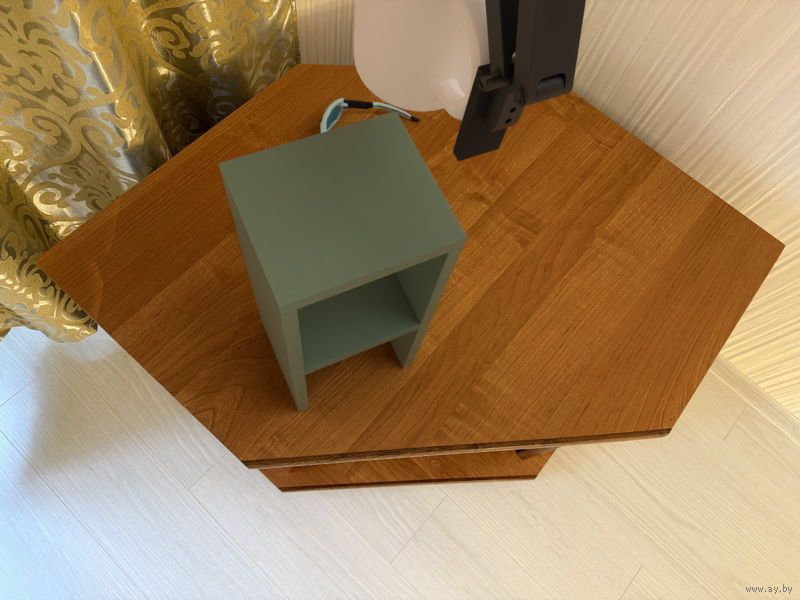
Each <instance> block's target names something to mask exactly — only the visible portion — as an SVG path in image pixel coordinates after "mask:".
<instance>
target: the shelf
mask: <svg viewBox="0 0 800 600" xmlns="http://www.w3.org/2000/svg"><path fill="white" fill-rule="evenodd" d="M218 168H219V172H220V176H221V179H222V183H223V187H224V190H225V194H226V198H227V201H228V204H229V208H230V212H231V215H232V220H233V223H234V226H235V230H236V234H237V238H238V241H239V245H240V249H241V252H242V255H243V259H244V263H245V265H246V267H245V268H246V270H247V273H248V277H249V281H250V284H251V285H250V286H251V289H252V292H253V296H254V299H255V303H256V306H257V310H258V315H259V318H260V321H261V323H262V326H263V328H264V331H265V333H266V336H267V338H268V340H269V343H270V345H271V348H272V351H273V353H274V355H275V358H276V360H277V362H278V365H279V367H280V370H281V372H282V375H283V378H284V380H285V383H286V385H287V387H288V390H289V393H290V394H291V397H292V399H293V402H294V405H295V407H296V409H297V411H298V413H302V412H304V411H307V410H309V409H310V405H309V399H308V397H309V396H308V388H307V380H306V376H307V375H309V374H313V373H314V372H317V371H319V370H322V369H324V368H326V367H329V366H332V365H334V364H336V363H338V362H341V361H344V360H346V359H349V358H350V357H351V358H352V357H353V356H356V355H359V354H361V353H363V352H366V351H368V350H370V349H373V348H376V347H378V346H380V345H383V344H386V343H387V342H389V343H390V344H391V345H390V346H391V347H392V348H393V349H392V350H393V351H394V353H395V355H396V357H397V359H398V362H399V363H400V365H401V367H402V369H406V368H408V367H410V366H412V365H413V363H414V361H415V360H416V356H417V354H418V352H419V350H420V347H421V345H422V342H423V340H424V338H425V336H426V333H427V331H428V329H429V327H430V324H431V322H432V320H433V318H434V315H435V312H436V310H437V308H438V306H439V304H440V301H441V299H442V297H443V294H444V292H445V290H446V287H447V285H448V283H449V281H450V278H451V276H452V273H453V271H454V269H455V266H456V265H457V262H458V260H459V257H460V255H461V253H462V251H463V248H464V246H465V243H466V241H467V239H468V236H467V233H465V231H464V229H463V227H462V225H461V223H460V222H459V220H458V218H457V217H456V215H455V212H453V209H452V207H451V206H450V204H449V202H448V201H447V199H446V197H445V195H444V193H443V192H442V190H441V188H440V187H439V185H438V183H437V181H436V180H435V178H434V176H433V174H432V172H431V170H430V169H429V167H428V165H427V164H426V162H425V160H424V158H423V156H422V155H421V153H420V151H419V149H418V148H417V146H416V144H415V143H414V141H413V138H412V137H411V135H410V133H409V132H408V130H407V128H406V126H405V125H404V123H403V121H402V119H401V118H400V116H399V114H398V113H397V112H396V111H394V112H392V111H389V112H387V113H384V114H381V115H377V116H374V117H370V118H367V119H364V120H361V121H356V122H354V123H349V124H346V125H343V126H340V127H337V128H334V129H330V130H329V131H326V132H323V133H320V132H319V133H317V134H313V135H310V136H307V137H303V138H299V139H296V140H293V141H289V142H286V143H282V144H279V145H276V146H272V147H269V148H266V149H262V150H259V151H256V152H253V153H249V154H245V155H242V156H238V157H235V158H232V159H229V160H225V161H222V162H219V163H218Z"/></svg>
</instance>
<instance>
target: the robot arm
mask: <svg viewBox="0 0 800 600" xmlns="http://www.w3.org/2000/svg"><path fill="white" fill-rule="evenodd" d="M586 2H587V0H485V5H486V18H487V32H488V45H489V59H490V63H489V64H486V65H482V66H478V69H477V72H476V76H475V79H474V82H473V86H472V89H471V92H470V96H469V99H468V102H467V106H466V109H465V112H464V116H463V119H462V121H461V123H460V126H459V129H458V132H457V136H456V139H455V142H454V146H453V149H452V153H453V155H454V157H455V158H456V160H457V161H458V162H461V161H465V160H468V159H471V158H474V157H478V156H480V155H481V156H482V155H484V154H488V153H490V152H494V151H496V150H499V149H500V147H501V145H502V142H503V139H504V138H505V135H506V132H507V130H508V128H510V127H514V126H515V125H517V123H519V121H520V118H521V117H522V114H523V113H524V109H525V107H527V106H531V105H534V104H537V103H541V102H544V101H548V100H551V99H554V98H558V97H560V96H565V95H567V94H570V93H571V91H572V90H573V87H574V82H575V76H576V70H577V62H578V55H579V50H580V44H581V35H582V30H583V24H584V16H585V11H586V4H587V3H586Z"/></svg>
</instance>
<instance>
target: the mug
mask: <svg viewBox="0 0 800 600" xmlns="http://www.w3.org/2000/svg"><path fill="white" fill-rule="evenodd" d="M353 60H354V66H355V70H356V72H357V74H358V76H359V79H360V80H361V81H362V83H363V84H364V86H365V87H366V88H367V89H368V90H369V91H370V92H371V93H372V94H373V95H375V96H376V97H377V98H379V100H381V101H383V102H384V103H386V104H388V105H390V106H393V107H395V108H398V109H401V110H406V111H411V112H433V111H435V112H436V111H441V110H443V109H444V110H445V111H446V112H447V114H448V115H449V116H451V118H454V119H455V120H459V121H461V122H462V119H463V116H464V112H465V109H466V106H467V102H468V99H469V96H470V92H471V89H472V86H473V82H474V79H475V76H476V72H477V69H478V66H482V65H486V64H489V63H490V59H489V45H488V32H487V18H486V5H485V0H355V3H354V23H353Z"/></svg>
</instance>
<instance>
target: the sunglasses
mask: <svg viewBox="0 0 800 600" xmlns="http://www.w3.org/2000/svg"><path fill="white" fill-rule="evenodd" d="M348 109H357V110H370V109H382V110H386V111H389V112H394V111H396V112H397V114H398V115H400V116H402V117H404V118H405V119H409V120H410V121H412V122H415V123H417V122H420V121H421V118H418V117H416V116H414V115H412V114H410V113H408V112H406V111H405V110H404V109H401V108H398V107H396V106H393V105H391V104H388V103H383V102H380V101H366V100H357V99H344V97H340V98H338V99H335V100H334V101H332V102H331V103H330V105H328V106H327V108H326V110H325V112H324V113H323V115H322V120H321V122H320V124H319V125H320V132H319V133H323V132H326V131H330V130H332V127H333V126H334V125H335V124H336V123H337V122H338V121H339V120H340V118H341V117H342V113H343V111H348Z"/></svg>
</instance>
